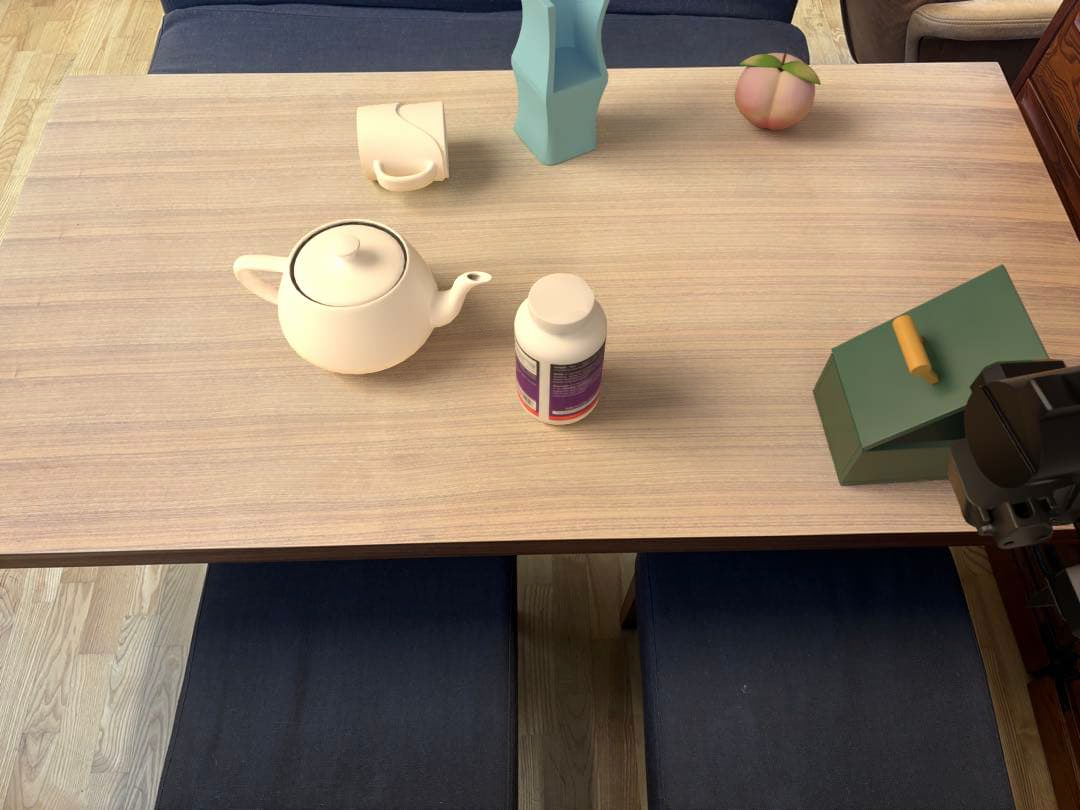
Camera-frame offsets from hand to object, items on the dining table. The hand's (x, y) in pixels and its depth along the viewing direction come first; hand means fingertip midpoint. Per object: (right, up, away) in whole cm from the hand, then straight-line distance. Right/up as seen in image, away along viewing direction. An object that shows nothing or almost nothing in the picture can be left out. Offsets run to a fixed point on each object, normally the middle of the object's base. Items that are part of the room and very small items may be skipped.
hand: (1008, 543), depth 61 cm
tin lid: (-1, +14, +9) cm, 16 cm away
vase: (-32, +42, +41) cm, 67 cm away
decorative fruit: (-6, +44, +43) cm, 62 cm away
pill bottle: (-32, +11, +21) cm, 40 cm away
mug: (-49, +36, +38) cm, 72 cm away
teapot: (-51, +18, +25) cm, 59 cm away
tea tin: (0, +7, +19) cm, 20 cm away
